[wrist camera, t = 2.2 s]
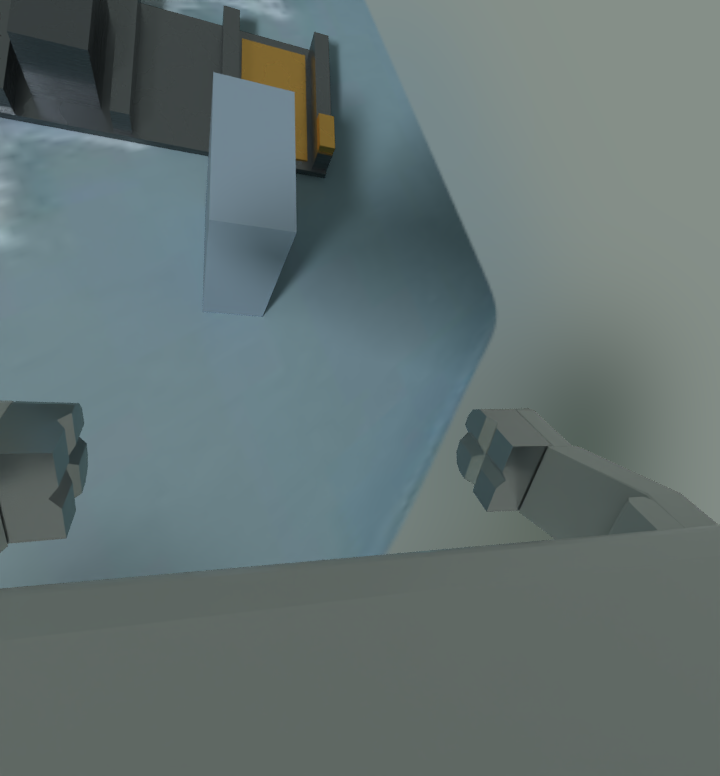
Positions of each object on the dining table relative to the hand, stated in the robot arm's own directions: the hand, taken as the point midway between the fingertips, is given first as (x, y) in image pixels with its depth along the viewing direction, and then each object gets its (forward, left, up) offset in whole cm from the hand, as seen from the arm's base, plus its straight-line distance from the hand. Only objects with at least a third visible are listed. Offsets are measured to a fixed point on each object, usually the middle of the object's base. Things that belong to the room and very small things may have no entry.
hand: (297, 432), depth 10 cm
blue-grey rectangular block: (-9, +9, -18) cm, 22 cm away
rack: (-20, +15, -18) cm, 31 cm away
